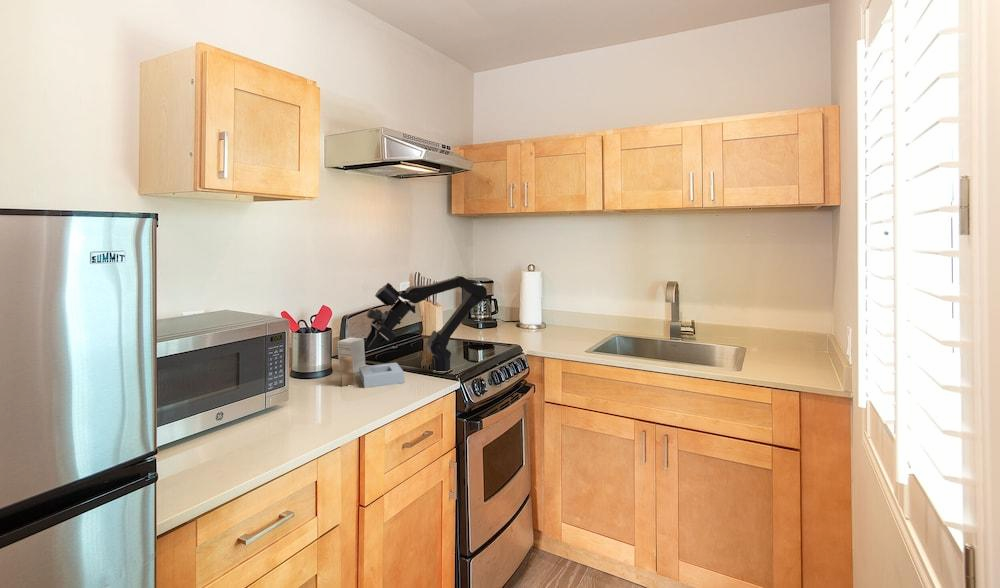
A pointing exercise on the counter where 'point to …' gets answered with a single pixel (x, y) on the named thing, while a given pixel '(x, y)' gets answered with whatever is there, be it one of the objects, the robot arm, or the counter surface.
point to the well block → (381, 375)
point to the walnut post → (346, 370)
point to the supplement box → (352, 352)
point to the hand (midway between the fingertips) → (366, 346)
